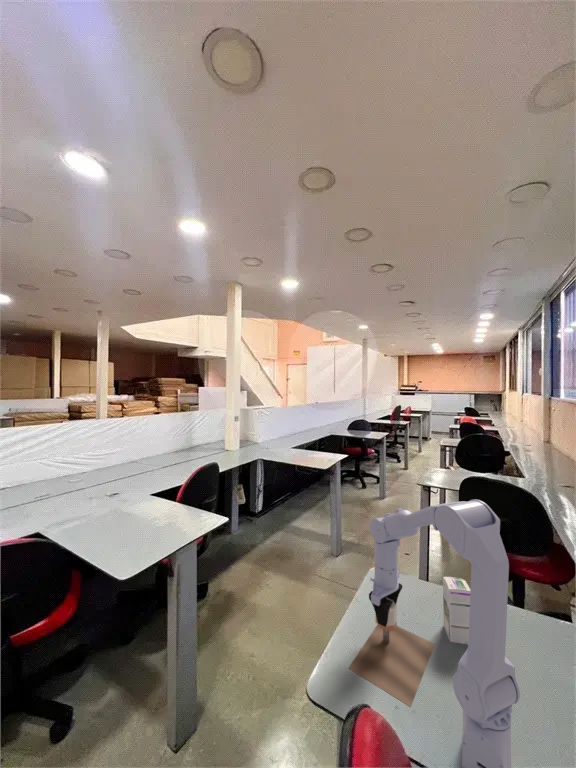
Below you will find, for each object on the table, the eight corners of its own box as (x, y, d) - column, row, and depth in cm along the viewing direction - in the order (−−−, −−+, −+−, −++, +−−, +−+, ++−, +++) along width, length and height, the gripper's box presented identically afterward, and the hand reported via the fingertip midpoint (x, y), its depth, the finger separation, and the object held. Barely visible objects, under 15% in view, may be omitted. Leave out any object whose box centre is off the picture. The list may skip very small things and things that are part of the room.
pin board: (410, 712, 62) (410, 684, 62) (348, 672, 71) (348, 648, 71) (434, 647, 78) (434, 626, 78) (381, 621, 87) (381, 602, 87)
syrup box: (474, 649, 78) (473, 591, 78) (449, 645, 79) (448, 588, 79) (466, 632, 83) (465, 578, 84) (442, 628, 84) (442, 575, 85)
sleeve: (391, 633, 76) (391, 613, 76) (373, 624, 79) (373, 604, 79) (398, 622, 79) (398, 602, 79) (380, 613, 82) (380, 594, 82)
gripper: (381, 548, 87) (381, 596, 87) (359, 571, 76) (359, 627, 76) (406, 556, 83) (407, 607, 83) (387, 582, 72) (387, 641, 71)
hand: (386, 617), depth 79 cm, fingers closed on sleeve, 5 cm apart
